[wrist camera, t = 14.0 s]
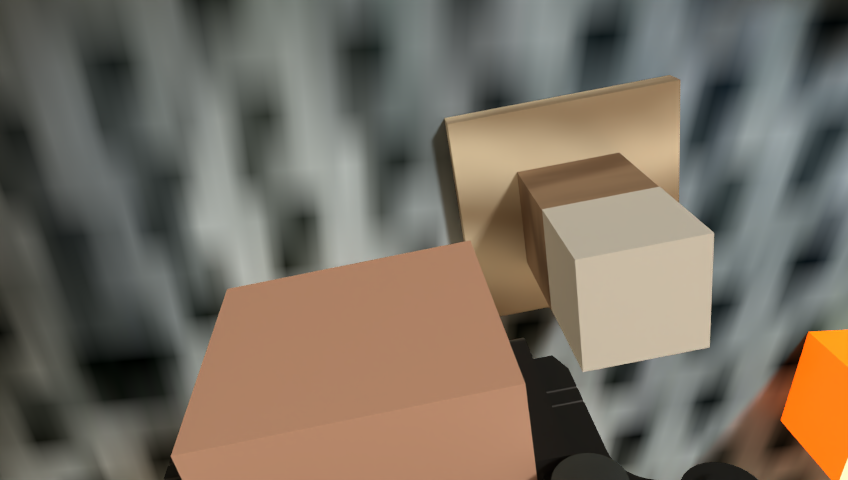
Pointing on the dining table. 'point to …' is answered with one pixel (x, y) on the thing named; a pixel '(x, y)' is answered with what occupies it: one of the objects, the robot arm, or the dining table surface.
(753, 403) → the dining table surface
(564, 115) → the birch board
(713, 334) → the dining table surface
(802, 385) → the orange juice
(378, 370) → the terracotta block
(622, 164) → the walnut block
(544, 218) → the grey block
